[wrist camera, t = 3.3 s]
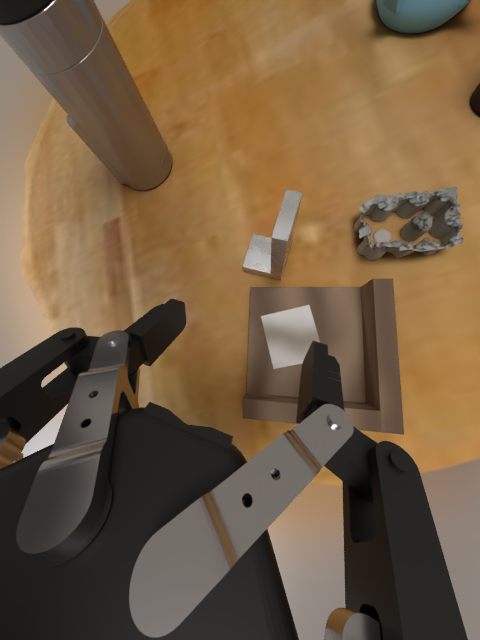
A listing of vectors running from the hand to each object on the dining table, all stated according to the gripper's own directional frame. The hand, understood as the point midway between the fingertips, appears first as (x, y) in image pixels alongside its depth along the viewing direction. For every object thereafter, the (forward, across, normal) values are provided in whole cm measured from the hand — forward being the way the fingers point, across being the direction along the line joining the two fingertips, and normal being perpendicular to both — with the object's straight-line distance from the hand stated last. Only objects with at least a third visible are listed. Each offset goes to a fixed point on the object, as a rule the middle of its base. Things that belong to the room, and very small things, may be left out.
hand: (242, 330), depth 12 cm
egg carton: (+25, -14, -3) cm, 28 cm away
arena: (+12, -7, +10) cm, 17 cm away
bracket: (+19, +2, +2) cm, 19 cm away
